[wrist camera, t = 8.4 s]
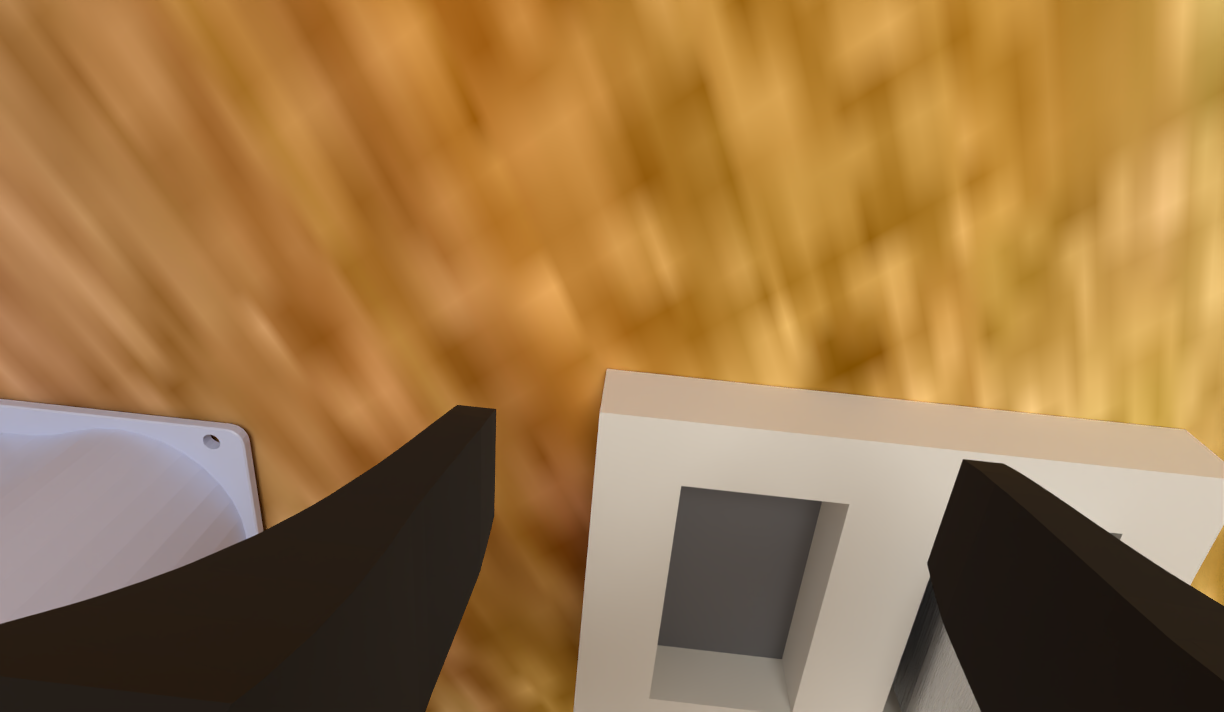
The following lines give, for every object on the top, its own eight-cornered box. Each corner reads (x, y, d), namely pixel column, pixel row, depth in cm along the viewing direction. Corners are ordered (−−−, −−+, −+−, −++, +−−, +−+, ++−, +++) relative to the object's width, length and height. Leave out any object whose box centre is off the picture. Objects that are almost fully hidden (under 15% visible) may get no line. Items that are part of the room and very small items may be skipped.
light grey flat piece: (579, 670, 27) (571, 732, 24) (607, 368, 21) (599, 412, 19) (1040, 724, 26) (1075, 792, 24) (1185, 429, 21) (1247, 481, 19)
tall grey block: (882, 652, 25) (941, 833, 20) (938, 481, 22) (1026, 638, 16) (987, 664, 25) (1076, 849, 19) (1058, 493, 22) (1187, 655, 16)
